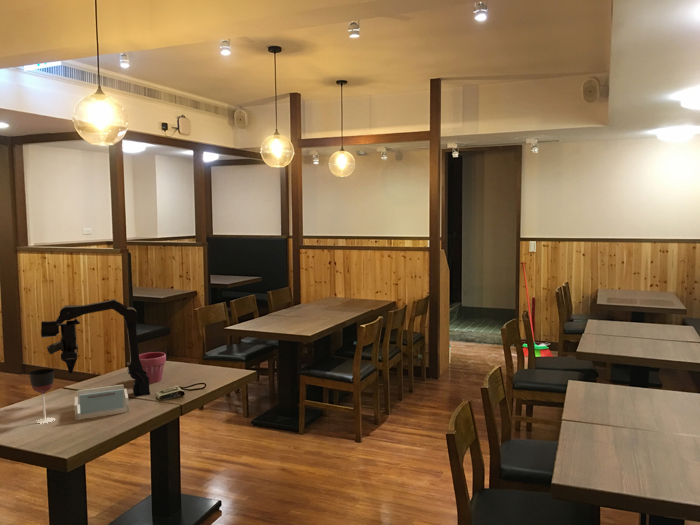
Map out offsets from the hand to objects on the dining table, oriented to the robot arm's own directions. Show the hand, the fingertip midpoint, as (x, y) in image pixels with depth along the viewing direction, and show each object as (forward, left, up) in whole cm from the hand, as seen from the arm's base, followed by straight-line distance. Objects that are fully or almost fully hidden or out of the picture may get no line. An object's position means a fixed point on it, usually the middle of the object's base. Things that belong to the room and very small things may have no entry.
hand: (70, 370), depth 243 cm
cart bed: (-11, +16, -15) cm, 24 cm away
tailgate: (-11, +23, -12) cm, 28 cm away
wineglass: (+10, +18, -15) cm, 25 cm away
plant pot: (-34, -19, -15) cm, 42 cm away
